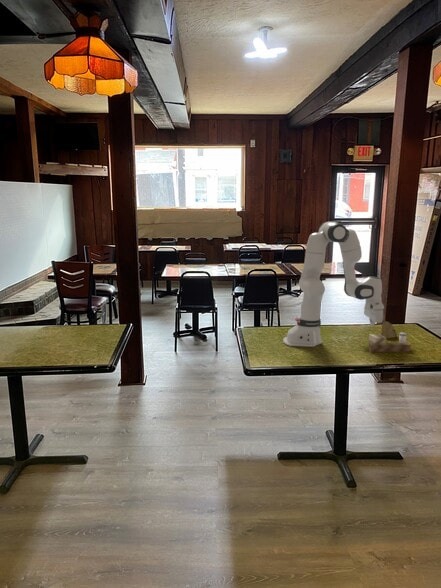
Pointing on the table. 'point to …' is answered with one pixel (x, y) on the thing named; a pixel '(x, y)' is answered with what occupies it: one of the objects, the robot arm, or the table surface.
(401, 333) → the salt shaker
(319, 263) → the robot arm
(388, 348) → the brown wooden bar
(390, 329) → the rock
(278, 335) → the table surface
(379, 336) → the maple block
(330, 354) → the table surface
